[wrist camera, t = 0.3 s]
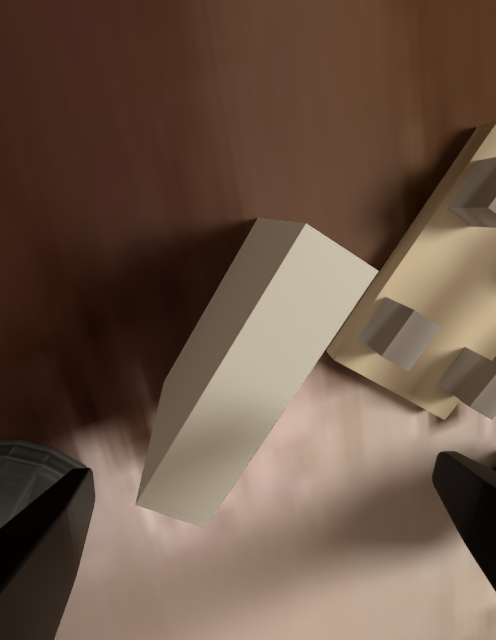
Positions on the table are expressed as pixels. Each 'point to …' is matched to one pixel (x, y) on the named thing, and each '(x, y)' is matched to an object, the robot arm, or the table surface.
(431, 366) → the hinge clip plate
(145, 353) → the table surface
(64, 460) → the zipper pull
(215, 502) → the cabinet door panel
